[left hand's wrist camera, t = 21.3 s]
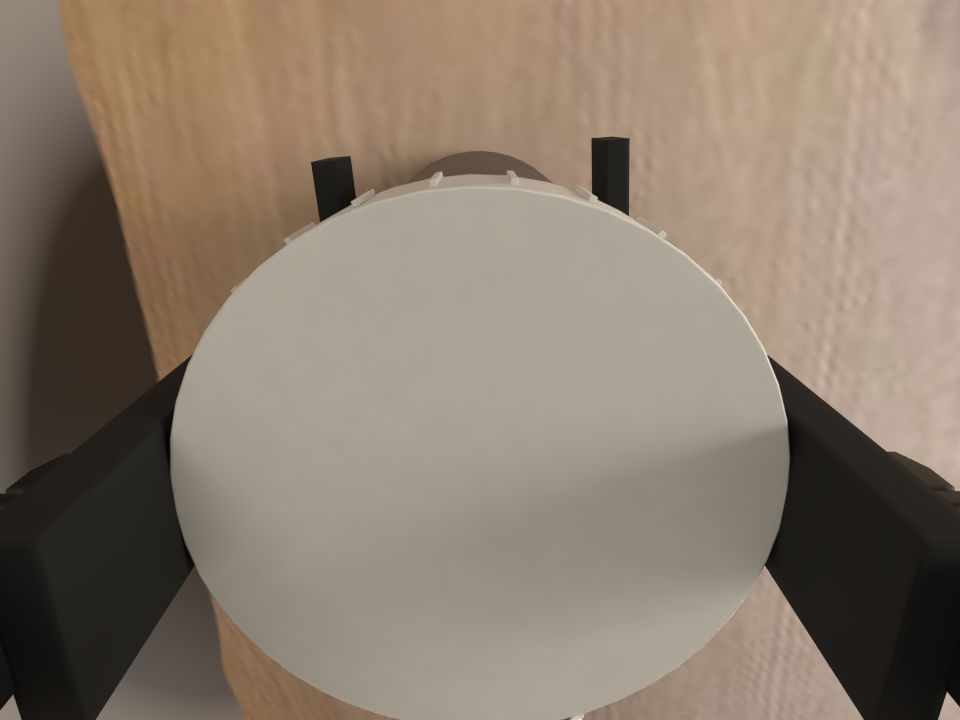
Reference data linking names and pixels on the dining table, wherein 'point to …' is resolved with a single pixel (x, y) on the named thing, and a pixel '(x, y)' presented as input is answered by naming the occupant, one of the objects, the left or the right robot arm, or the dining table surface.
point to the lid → (479, 453)
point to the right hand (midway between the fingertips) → (469, 149)
